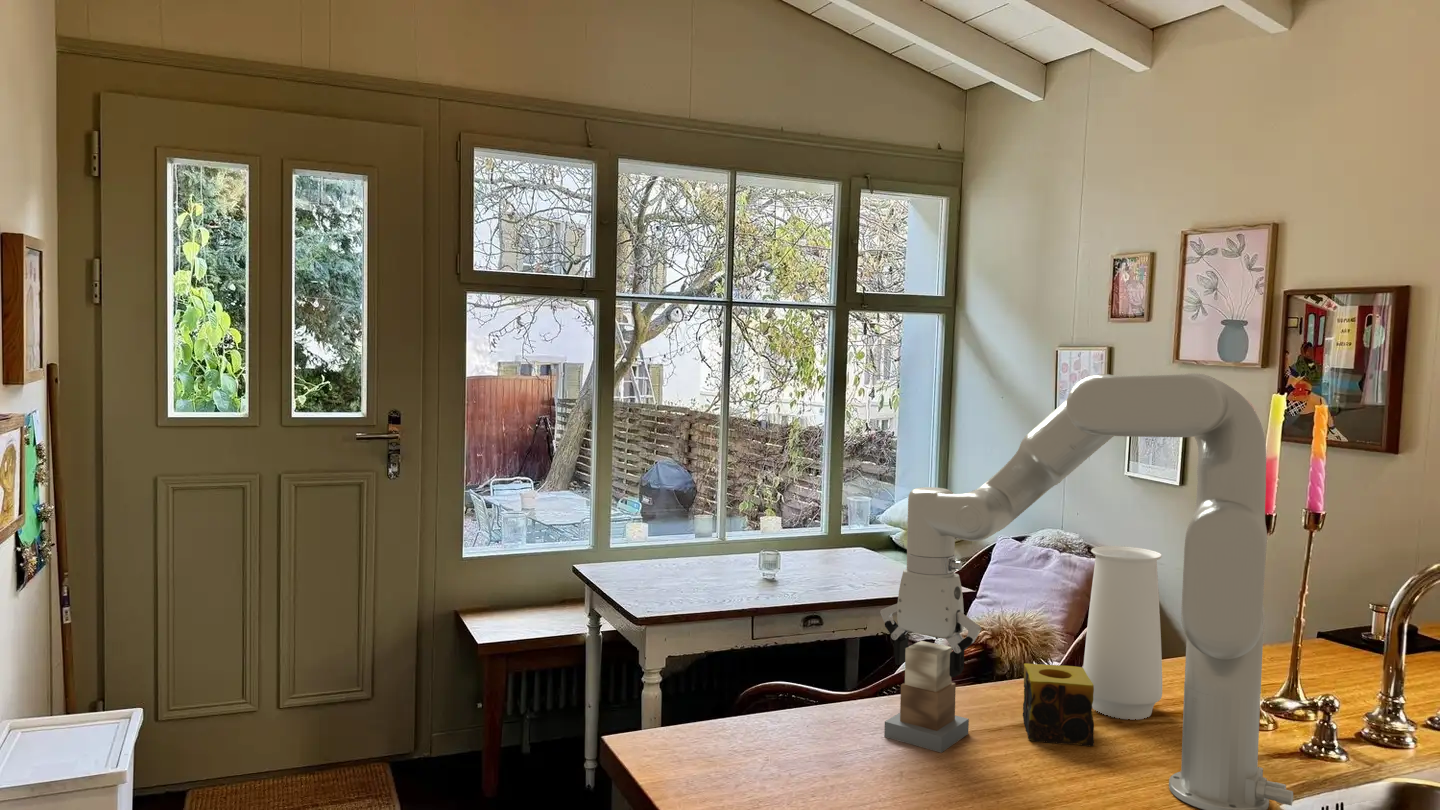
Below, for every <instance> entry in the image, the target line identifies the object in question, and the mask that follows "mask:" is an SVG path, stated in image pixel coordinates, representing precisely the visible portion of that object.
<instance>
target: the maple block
mask: <svg viewBox="0 0 1440 810" xmlns="http://www.w3.org/2000/svg"><path fill="white" fill-rule="evenodd" d="M952 651H953V649H952V647H951V646H950V645H949V646H948V645H944V644H938V643H933V642H929V641H925V640H920V641H918V642H915V643H913V644H911V645H908V647H907V648H906V651H905V662H904V683H905V685H908V686H912V687H916V688H920V689H925V690H929V691H933V692H937V691H939V690H941V689H942V688H944V687H946V686H948V685H949V684H951V682H952V677H951V676H950V675H949V674H950V653H951V652H952Z"/></svg>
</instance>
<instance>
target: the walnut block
mask: <svg viewBox="0 0 1440 810" xmlns="http://www.w3.org/2000/svg"><path fill="white" fill-rule="evenodd" d="M956 686H957V685H956V682H952V681H951V684H949V685H948V686H946V687H944V688H942V689H941V690H939V691H937V692H933V691H929V690H925V689H920V688H916V687H912V686H908V685H905V682H903V683H902V684H900V704H899V708H900V709H899V710H900V711H899V713H900V721H901V722H905V723H909V724H912V725H916V726H920V727H924V728H927V729H931V730H935V731H938V730H939V729H941V728H942V727H944V726H945V725H947V724H949V723H950V722H952V721H953V720H955V715H956V691H957V690H956Z"/></svg>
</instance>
